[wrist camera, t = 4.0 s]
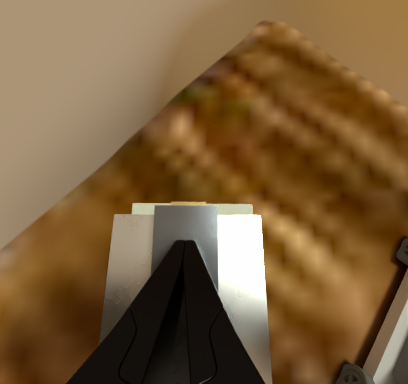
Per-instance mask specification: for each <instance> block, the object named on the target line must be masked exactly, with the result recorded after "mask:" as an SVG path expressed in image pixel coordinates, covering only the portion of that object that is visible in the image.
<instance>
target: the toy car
mask: <svg viewBox="0 0 408 384" xmlns="http://www.w3.org/2000/svg"><path fill="white" fill-rule="evenodd" d="M396 257H397V258H398V259H399V260H400V261H401V262H403V263H404V264H406V265H407V266H408V237H407V238H405V239H404V240H403V242H402V244H401V247H400V249H399V250H398V252H397V254H396ZM335 384H408V269H407V271H406V274H405V276H404V278H403V280H402V282H401V285H400V287H399V289H398V291H397V294H396V296H395V298H394V300H393V302H392V305H391V307H390V309H389V311H388V314H387V316H386V318H385V320H384V322H383V325H382V327H381V329H380V331H379V333H378V336H377V338H376V340H375V342H374V345H373V347H372V349H371V351H370V353H369V356H368V358H367V360H366V362H365V364H364V367H363V369H361V368H360V367H359V366H357V365H355V364H345V365H344V366H343V369H342V371H341V374H340V377H339V378H338V380H337V381H336V383H335Z"/></svg>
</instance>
